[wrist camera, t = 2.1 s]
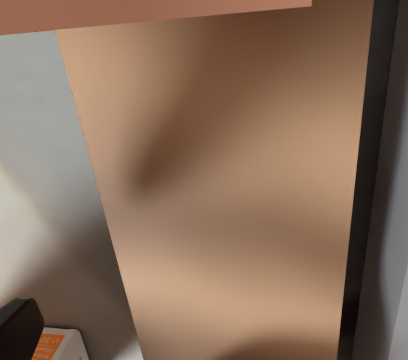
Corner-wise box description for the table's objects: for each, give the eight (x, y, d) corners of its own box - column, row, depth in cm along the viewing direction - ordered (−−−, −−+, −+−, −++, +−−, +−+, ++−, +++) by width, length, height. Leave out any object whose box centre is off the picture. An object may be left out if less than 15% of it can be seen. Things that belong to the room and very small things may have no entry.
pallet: (317, 362, 19) (327, 450, 15) (181, 351, 20) (162, 430, 17) (356, -222, 9) (408, -342, 5) (81, -168, 10) (-17, -236, 7)
